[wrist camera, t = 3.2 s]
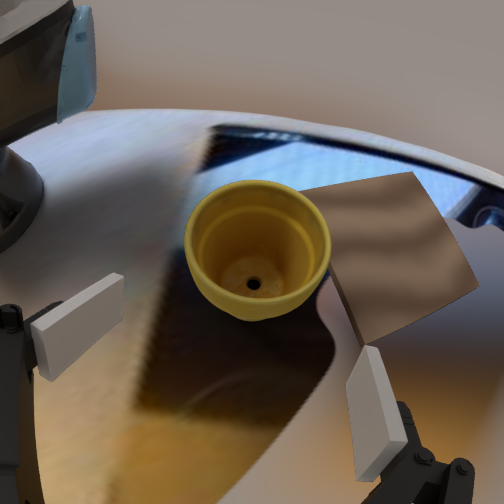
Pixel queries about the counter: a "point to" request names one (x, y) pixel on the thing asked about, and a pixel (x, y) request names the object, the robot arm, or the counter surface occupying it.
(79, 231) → the counter surface
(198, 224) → the plant pot
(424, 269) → the walnut board
